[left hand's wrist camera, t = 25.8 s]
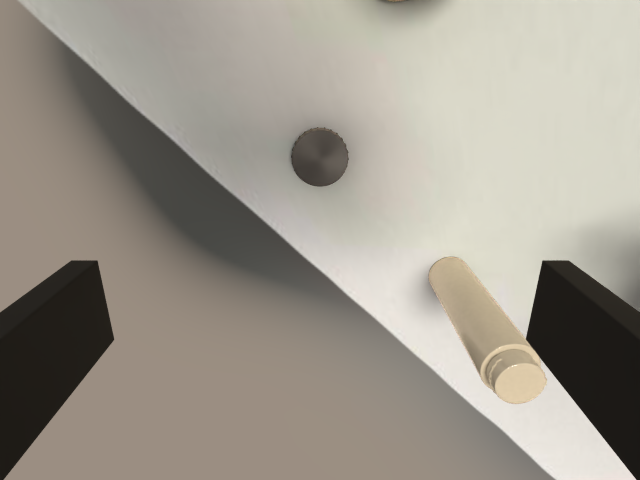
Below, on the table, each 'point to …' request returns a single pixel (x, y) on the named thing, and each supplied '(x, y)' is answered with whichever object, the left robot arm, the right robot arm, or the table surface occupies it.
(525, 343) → the jar
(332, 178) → the lid
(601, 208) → the table surface
